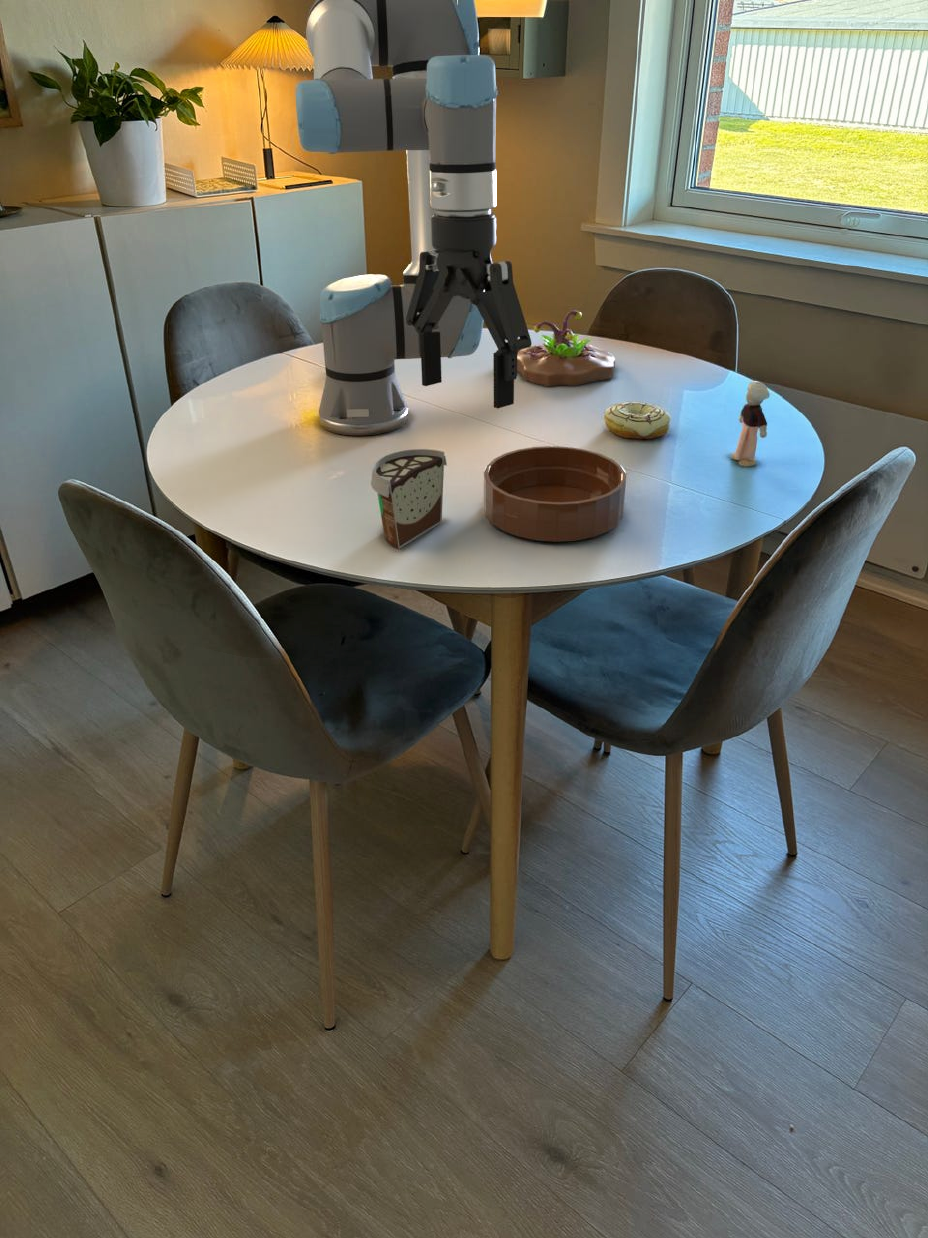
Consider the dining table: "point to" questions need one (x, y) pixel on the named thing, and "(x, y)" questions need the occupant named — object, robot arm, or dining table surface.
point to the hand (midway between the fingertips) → (466, 394)
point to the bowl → (554, 493)
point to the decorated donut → (637, 420)
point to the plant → (564, 359)
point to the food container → (409, 493)
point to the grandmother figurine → (751, 424)
